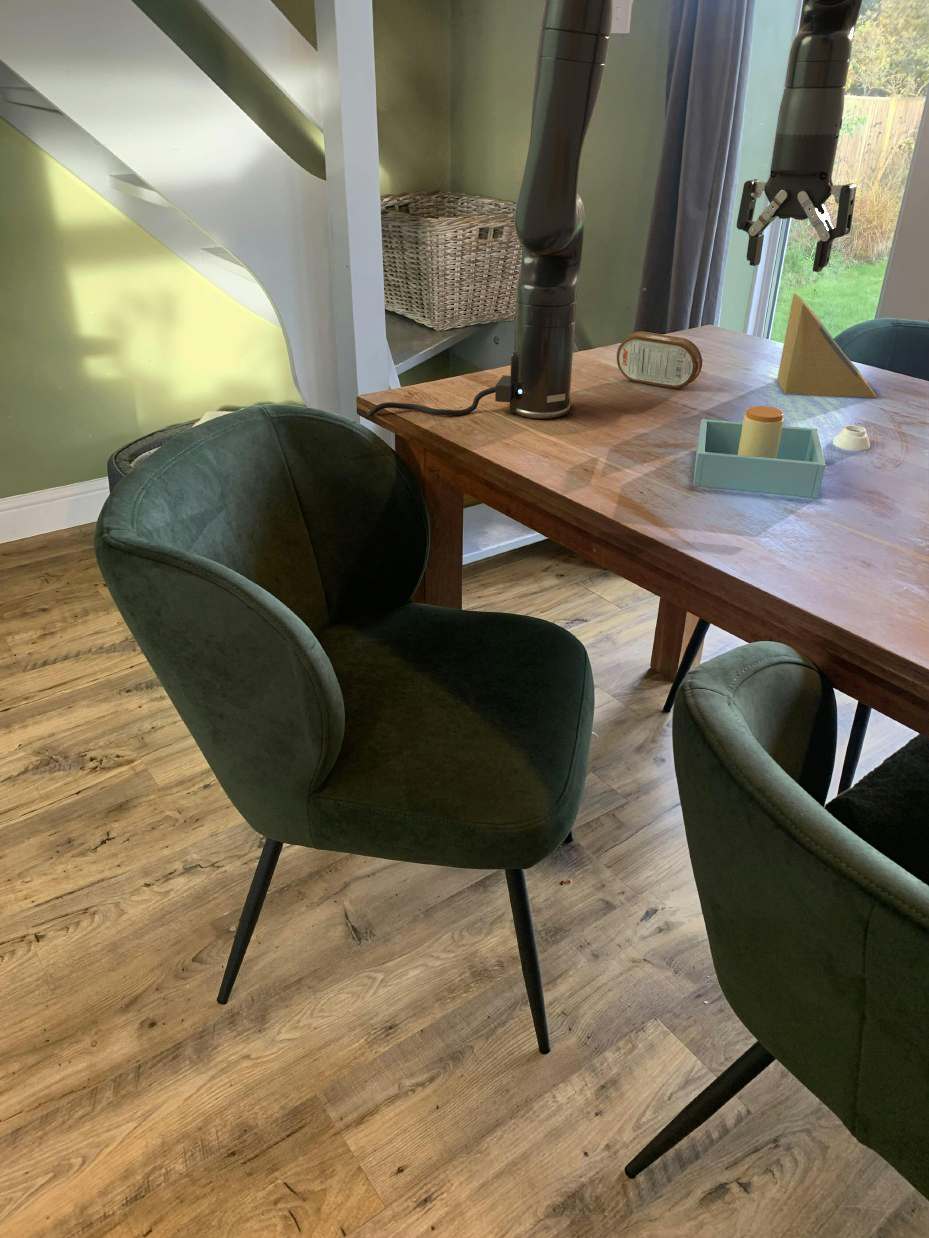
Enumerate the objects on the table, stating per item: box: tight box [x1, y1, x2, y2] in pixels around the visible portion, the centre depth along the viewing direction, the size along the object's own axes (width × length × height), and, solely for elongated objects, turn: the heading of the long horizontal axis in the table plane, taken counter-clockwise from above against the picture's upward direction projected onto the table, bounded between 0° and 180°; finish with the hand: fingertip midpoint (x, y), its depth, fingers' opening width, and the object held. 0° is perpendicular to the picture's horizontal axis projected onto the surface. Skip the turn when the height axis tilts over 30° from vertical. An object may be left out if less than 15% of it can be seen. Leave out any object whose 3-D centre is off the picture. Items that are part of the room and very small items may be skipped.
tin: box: [616, 330, 703, 390], centre depth 152 cm, size 15×3×8 cm, turn 58°
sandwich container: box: [776, 292, 878, 398], centre depth 148 cm, size 9×15×15 cm, turn 82°
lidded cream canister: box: [738, 405, 785, 458], centre depth 117 cm, size 5×5×8 cm
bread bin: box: [692, 418, 826, 499], centre depth 118 cm, size 16×14×5 cm
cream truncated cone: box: [832, 424, 871, 452], centre depth 127 cm, size 5×3×5 cm
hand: (785, 268), depth 117 cm, fingers open, 8 cm apart
